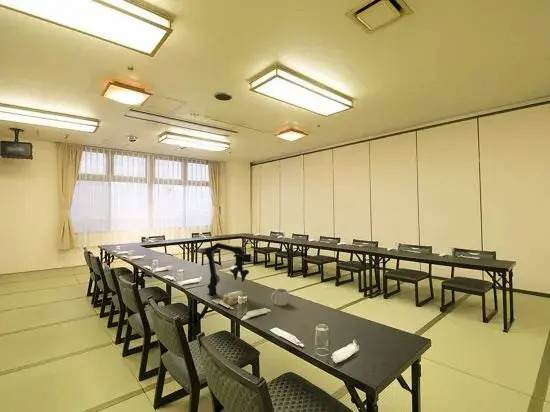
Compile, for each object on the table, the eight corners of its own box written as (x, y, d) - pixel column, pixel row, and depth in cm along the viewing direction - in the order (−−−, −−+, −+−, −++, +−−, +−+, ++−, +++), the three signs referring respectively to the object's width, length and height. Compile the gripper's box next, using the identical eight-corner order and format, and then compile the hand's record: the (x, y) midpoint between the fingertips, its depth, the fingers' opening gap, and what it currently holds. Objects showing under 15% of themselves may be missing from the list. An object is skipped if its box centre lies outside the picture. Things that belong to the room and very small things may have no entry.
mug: (288, 302, 209) (288, 289, 209) (284, 306, 200) (284, 293, 200) (276, 300, 213) (276, 287, 214) (270, 304, 205) (270, 291, 205)
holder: (222, 301, 211) (222, 295, 211) (239, 296, 223) (239, 290, 223) (231, 305, 203) (231, 298, 203) (247, 299, 215) (247, 293, 215)
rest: (223, 296, 223) (223, 294, 224) (236, 292, 233) (236, 291, 233) (229, 298, 217) (229, 297, 217) (242, 295, 226) (242, 293, 226)
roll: (232, 302, 207) (232, 294, 207) (227, 300, 212) (227, 292, 212) (242, 299, 215) (242, 291, 214) (238, 297, 219) (238, 289, 219)
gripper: (224, 261, 227) (224, 280, 226) (238, 265, 213) (238, 285, 213) (235, 260, 234) (235, 278, 234) (249, 263, 221) (249, 282, 221)
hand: (239, 281), depth 226 cm, fingers open, 9 cm apart
